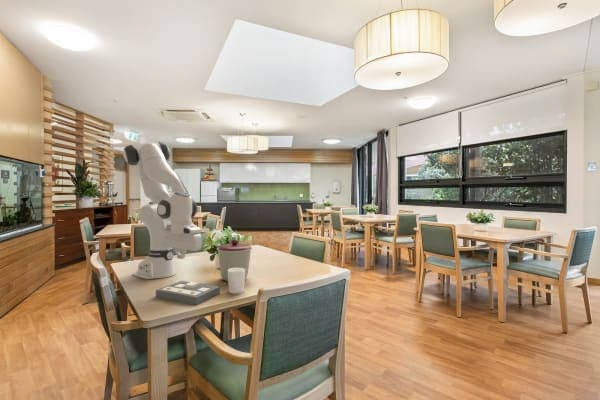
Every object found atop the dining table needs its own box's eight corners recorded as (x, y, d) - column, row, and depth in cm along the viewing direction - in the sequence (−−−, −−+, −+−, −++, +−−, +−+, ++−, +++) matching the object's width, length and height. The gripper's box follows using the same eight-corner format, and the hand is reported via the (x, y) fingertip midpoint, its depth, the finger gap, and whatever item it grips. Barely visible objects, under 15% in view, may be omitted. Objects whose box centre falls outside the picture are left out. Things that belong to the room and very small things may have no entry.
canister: (243, 285, 143) (244, 242, 143) (209, 282, 147) (210, 240, 147) (256, 275, 161) (257, 237, 161) (226, 273, 165) (226, 236, 164)
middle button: (184, 290, 129) (185, 284, 129) (191, 287, 133) (191, 281, 133) (192, 291, 128) (192, 285, 128) (198, 288, 131) (198, 283, 131)
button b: (196, 295, 127) (196, 289, 127) (202, 292, 130) (203, 287, 130) (204, 296, 125) (204, 291, 125) (210, 294, 129) (210, 288, 129)
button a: (173, 291, 132) (173, 286, 132) (180, 289, 135) (180, 283, 135) (180, 292, 130) (180, 287, 130) (187, 290, 134) (187, 284, 134)
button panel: (155, 297, 125) (155, 289, 125) (181, 286, 139) (181, 279, 139) (196, 304, 117) (196, 296, 117) (219, 293, 131) (220, 285, 131)
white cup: (246, 288, 139) (246, 267, 139) (243, 294, 131) (243, 272, 131) (229, 288, 138) (229, 267, 138) (225, 294, 131) (226, 271, 130)
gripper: (158, 227, 133) (157, 257, 134) (194, 230, 126) (193, 262, 126) (169, 225, 139) (168, 254, 139) (204, 229, 132) (203, 259, 132)
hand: (180, 258), depth 133 cm, fingers closed
